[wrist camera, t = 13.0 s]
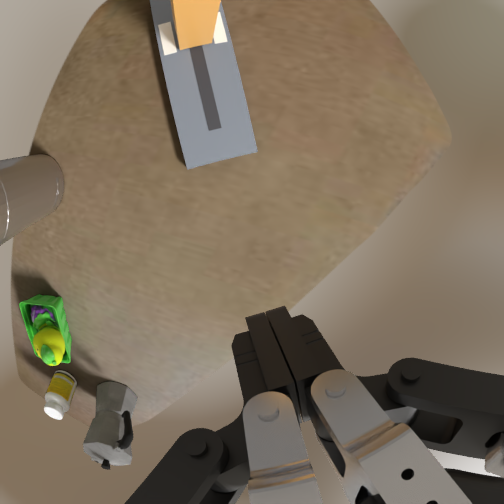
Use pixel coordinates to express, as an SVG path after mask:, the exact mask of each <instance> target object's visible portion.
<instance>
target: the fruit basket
mask: <svg viewBox="0 0 504 504" xmlns="http://www.w3.org/2000/svg"><path fill="white" fill-rule="evenodd" d="M19 306H20V310H21V313H22V317H23V320H24V323H25V326H26V329H27V332H28V335H29V338H30V341H31V344H32V346H33V349H34V352H35V354H36V355H37V356H38V357H39V358H41V359H42V360H43V361H44V363H46V364H47V365H50V366H56V365H58V364H60V362H63V363H70V359H71V356H70V351H71V341H72V338H71V335H70V333H69V327H68V323H67V321H66V315H65V311H64V308H63V301H62V298H61V297H55V296H48V295H43V296H42V295H40V294H38V295H36V296H34V297H32V298H30V299H28V300H25V301H22V302H20V304H19Z"/></svg>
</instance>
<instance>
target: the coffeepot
mask: <svg viewBox="0 0 504 504" xmlns="http://www.w3.org/2000/svg"><path fill="white" fill-rule="evenodd" d="M136 401H137V396H136V395H135V393H134V392H133V391H132V390H131V389H130V388H128V387H127V386H125V385H123V384H120V383H117V382H111V381H108V382H103V383H101V384H99V385H97V395H96V416H95V418H94V419H93V421H92V423H91V425H90V428H89V430H88V433H87V436H86V438H85V440H84V443H83V447H84V452H85V453H87V454H88V455H90V456H91V460H95V461H96V462H97V463H102V466H101V467H102V468H104V469H110V464H111V465H115V466H120V465H130V464H131V460H132V453H131V442H132V440H133V431H132V424H131V417H132V414H133V411H134V408H135V405H136Z"/></svg>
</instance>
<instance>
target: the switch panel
mask: <svg viewBox="0 0 504 504" xmlns="http://www.w3.org/2000/svg"><path fill="white" fill-rule="evenodd" d="M150 5H151V10H152V16H153V21H154V27H155V32H156V37H157V42H158V47H159V52H160V57H161V61H162V66H163V71H164V75H165V80H166V84H167V89H168V93H169V98H170V102H171V106H172V111H173V115H174V119H175V123H176V127H177V131H178V135H179V139H180V143H181V147H182V151H183V155H184V159H185V163H186V167H187V169H191V168H194V167H198V166H202V165H205V164H209V163H213V162H217V161H221V160H225V159H229V158H233V157H237V156H241V155H246V154H250V153H254V152H258V151H257V147H256V142H255V138H254V133H253V129H252V124H251V120H250V116H249V111H248V107H247V103H246V99H245V94H244V90H243V86H242V82H241V78H240V74H239V69H238V65H237V61H236V57H235V53H234V49H233V46H232V42H231V38H230V34H229V30H228V26H227V22H226V19H225V15H224V11H223V7H222V4H221V2H220V6H219V11H218V15H217V20H216V25H215V30H214V35H213V40H212V43H210V44H205V45H200V46H196V47H191V48H187V49H183V50H180V48H179V44H178V39H177V34H176V30H175V25H174V20H173V14H172V8H171V1H170V0H150Z"/></svg>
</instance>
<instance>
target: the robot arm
mask: <svg viewBox="0 0 504 504" xmlns="http://www.w3.org/2000/svg"><path fill="white" fill-rule="evenodd" d="M63 191H64V180H63V175H62V171H61V169H60V167H59V165H58V164H57V162H56V161H55V160H54V159H53V158H51V157H50V156H48V155H44V154H38V155H30V156H23V157H18V158H12V159H6V160H1V161H0V245H2V244H3V243H5V242H6V241H8V240H9V239H11V238H12V237H14V236H15V235H17V234H18V233H20V232H21V231H23V230H24V229H26V228H28V227H29V226H31V225H32V224H34V223H36V222H37V221H39V220H41V219H42V218H44V217H46V216H47V215H49V214H50V213H52V212H53V211H54V210H55V209H56V208H57V207H58V205H59V204H60V201H61V199H62V196H63ZM245 319H246V322H247V325H248V329H249V331H247V332H243V333H240V334H236V335H235V337H234V340H233V343H232V350H233V355H234V359H235V364H236V368H237V372H238V377H239V382H240V386H241V390H242V395H243V398H244V406H243V410H242V412H241V414H240V415H239V417H238V418H237V419H236V420H235V421H234V422H232V423H231V424H229V425H228V426H225V427H223V428H222V429H220V430H218V431H216V432H214V431H212V430H209V429H204V428H197V429H192V430H190V431H187V432H186V433H184V434H183V435H181V436H180V437H179V438H178V439H177V441H176V442H175V443H174V445H173V446H172V447H171V449H170V450H169V451H168V452H167V453H166V455H165V456H164V457H163V459H162V460H161V461H160V462H159V463H158V465H157V466H156V467H155V468H154V469H153V471H152V472H151V473H150V474H149V476H148V477H147V478H146V479H145V481H144V482H143V483H142V484H141V485H140V486H139V487H138V489H137V490H136V491H135V492H134V493H133V494H132V496H131V497H130V498H129V499H128V500H127V501H126V503H125V504H235V503H236V502H237V500H238V498H239V497H240V495H241V494H242V492H243V490H244V489H245V487H246V485H247V484H248V492H249V499H250V504H323V501H322V498H321V495H320V491H319V488H318V484H317V481H316V478H315V475H314V471H313V468H312V466H311V464H310V461H309V458H308V454H307V451H306V447H305V444H304V441H303V437H302V433H301V429H300V423H302V421H301V417H302V419H303V421H304V422H305V421H308V420H311V421H312V423H313V426H314V428H315V433H316V438H317V440H318V442H319V443H320V445H321V447H322V449H323V451H324V453H325V454H326V456H327V458H328V460H329V461H330V463H331V465H332V467H333V469H334V470H335V472H336V474H337V476H338V477H339V479H340V482H341V484H342V488H343V490H344V493H345V495H346V497H347V498H348V500H349V502H350V504H504V376H503V375H497V374H491V373H485V372H480V371H474V370H469V369H464V368H459V367H454V366H449V365H444V364H440V363H434V362H430V361H426V360H422V359H417V358H405V359H401V360H399V361H397V362H396V363H394V364H393V365H392V367H391V368H390V369H389V372H388V373H387V374H382V375H375V376H369V377H361V376H356V375H354V374H353V373H351V372H349V371H346V370H345V369H344V368H343V367H342V366H341V364H340V362H339V361H338V359H337V358H336V356H335V355H334V353H333V352H332V350H331V349H330V347H329V345H328V344H327V342H326V341H325V339H324V338H323V336H322V335H321V333H320V332H319V330H318V328H317V327H316V325H315V324H314V322H313V320H311V319H309V318H307V317H306V316H304V315H299V316H296V317H293V318H291V316H290V314H289V312H288V311H287V309H286V307H285V306H282V307H279V308H276V309H273V310H269V311H266V315H265V313H264V312H263V313H259V314H256V315H253V316H249V317H246V318H245ZM300 414H301V416H300ZM428 448H429V449H433V450H438V451H442V452H446V453H452V454H457V455H462V456H467V457H473V458H480V459H485V470H486V471H487V472H489V473H490V472H491V473H493V474H496V475H499V476H501V477H502V478H501V477H494V476H487V475H482V474H476V473H471V472H466V471H461V470H456V469H447V468H443V467H442V466H441V464H440V463H439V462H438V461H437V459H436V458H435V457H434V456H433V455H432V453H431V452H430V451H429V450H428Z"/></svg>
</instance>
